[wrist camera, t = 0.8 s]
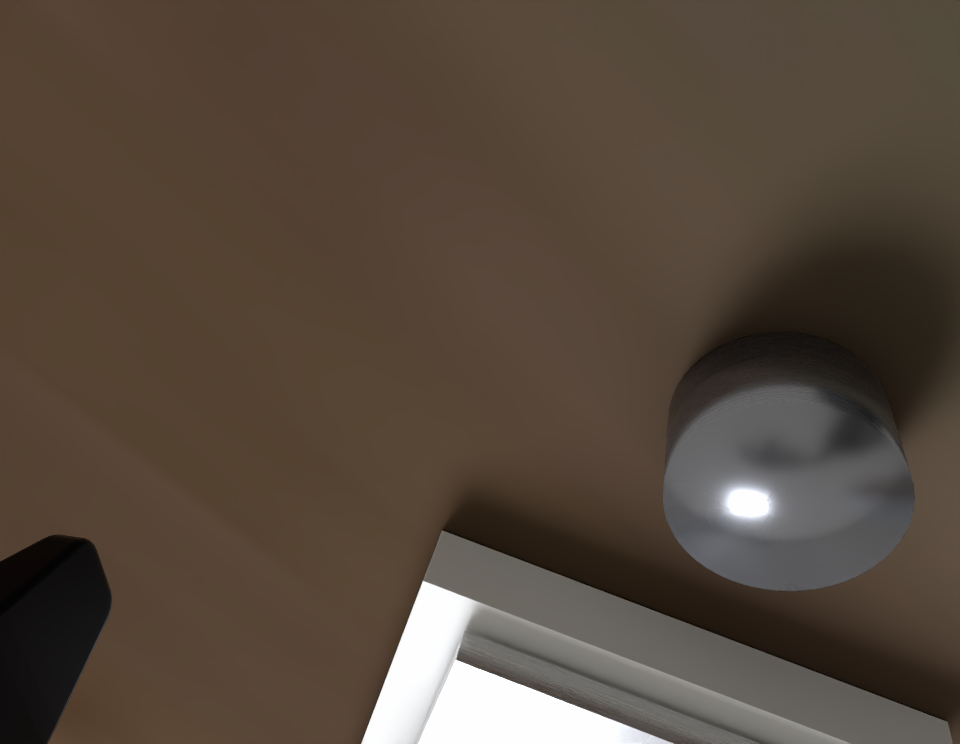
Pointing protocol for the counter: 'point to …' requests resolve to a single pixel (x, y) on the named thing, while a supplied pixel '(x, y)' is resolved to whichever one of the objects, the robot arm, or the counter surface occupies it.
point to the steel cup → (785, 464)
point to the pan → (546, 706)
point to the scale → (621, 658)
